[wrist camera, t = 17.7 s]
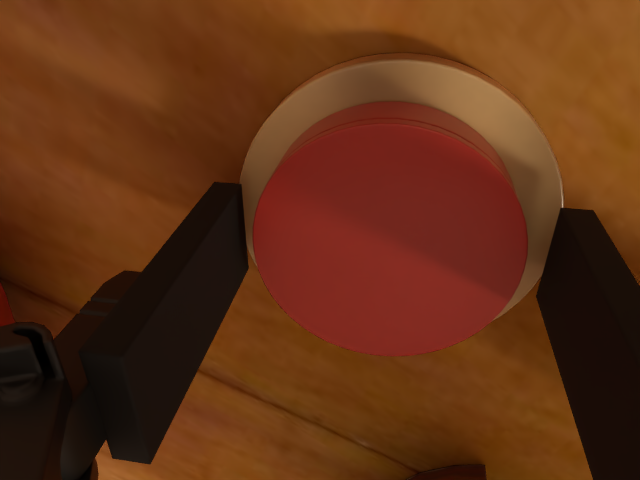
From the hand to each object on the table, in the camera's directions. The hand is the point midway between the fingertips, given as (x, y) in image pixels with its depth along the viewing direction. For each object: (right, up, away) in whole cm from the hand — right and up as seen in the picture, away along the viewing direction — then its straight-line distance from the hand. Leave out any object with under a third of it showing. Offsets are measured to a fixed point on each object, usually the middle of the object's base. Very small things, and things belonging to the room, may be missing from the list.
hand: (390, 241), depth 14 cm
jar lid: (0, 0, 0) cm, 1 cm away
